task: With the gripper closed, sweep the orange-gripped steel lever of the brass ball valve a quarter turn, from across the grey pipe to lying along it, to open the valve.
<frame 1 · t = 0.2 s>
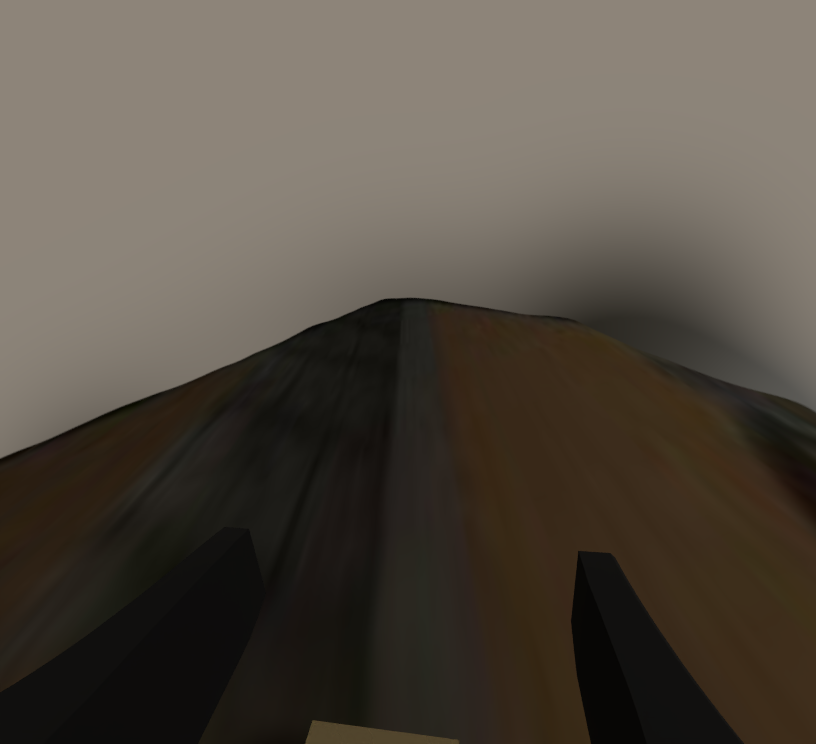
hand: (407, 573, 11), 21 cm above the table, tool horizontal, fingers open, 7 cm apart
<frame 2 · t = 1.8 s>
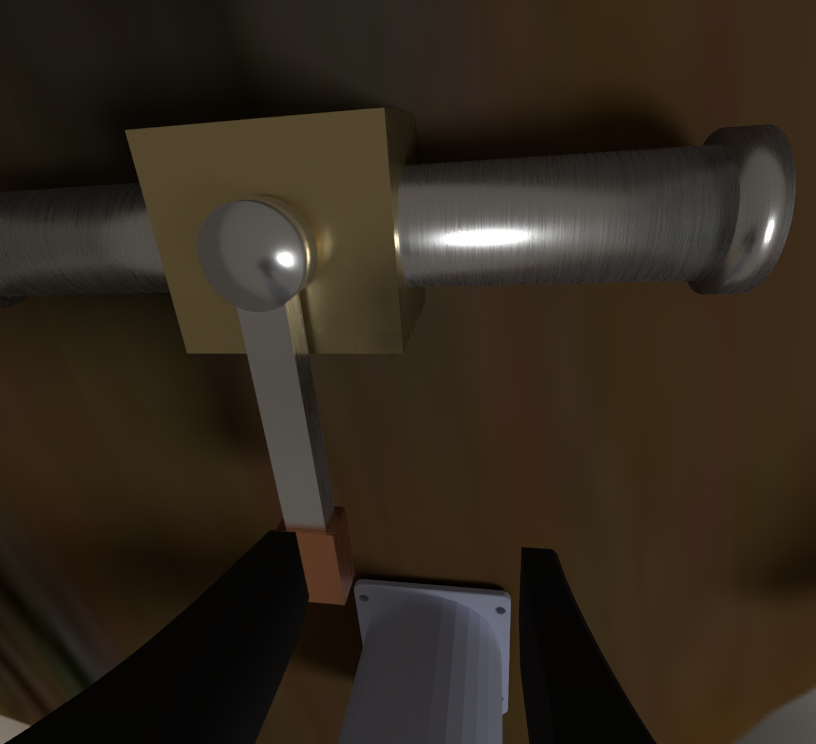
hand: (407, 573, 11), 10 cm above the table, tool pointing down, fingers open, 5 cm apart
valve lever: (293, 428, 15), point 6 cm above the table, hinge at 0.0°
valve pipe: (326, 220, 18), on the table
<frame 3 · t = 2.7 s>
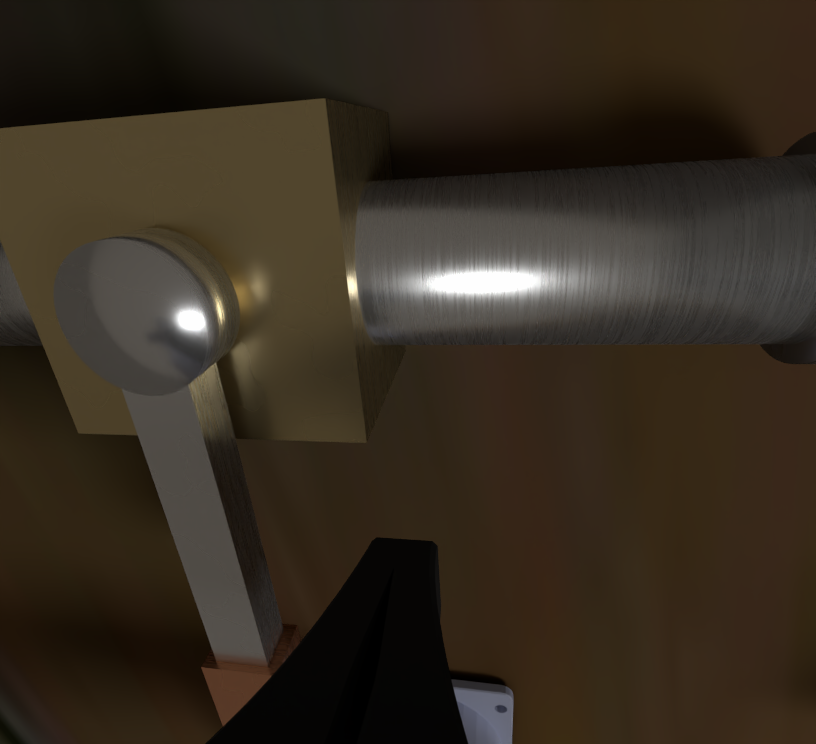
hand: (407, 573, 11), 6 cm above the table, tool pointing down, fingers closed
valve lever: (219, 539, 11), point 6 cm above the table, hinge at 0.0°
valve pipe: (277, 248, 14), on the table
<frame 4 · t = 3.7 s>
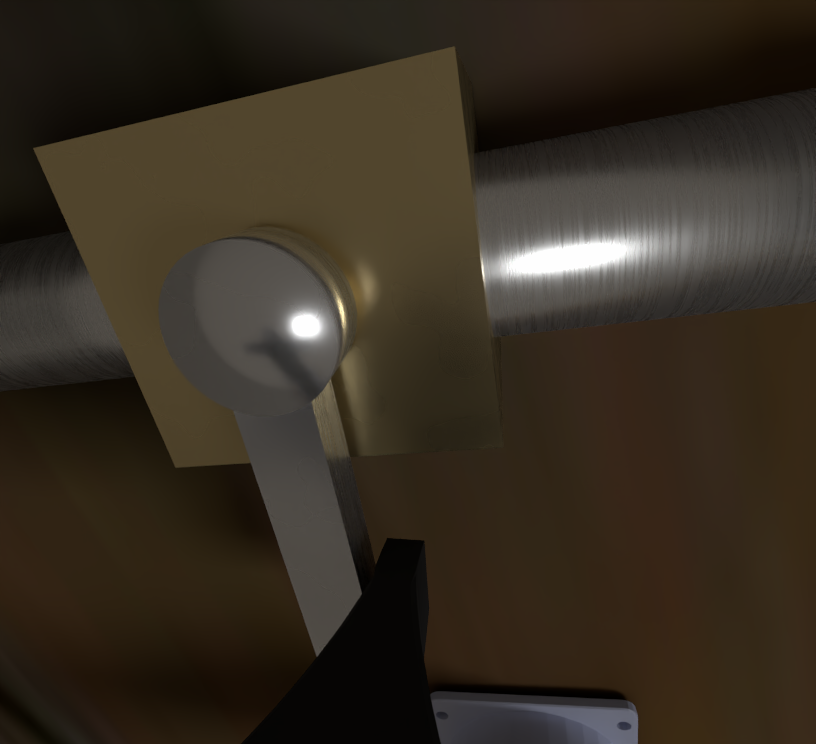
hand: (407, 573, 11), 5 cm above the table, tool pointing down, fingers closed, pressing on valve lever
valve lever: (334, 570, 10), point 6 cm above the table, hinge at 1.6°, touching gripper
valve pipe: (354, 248, 13), on the table
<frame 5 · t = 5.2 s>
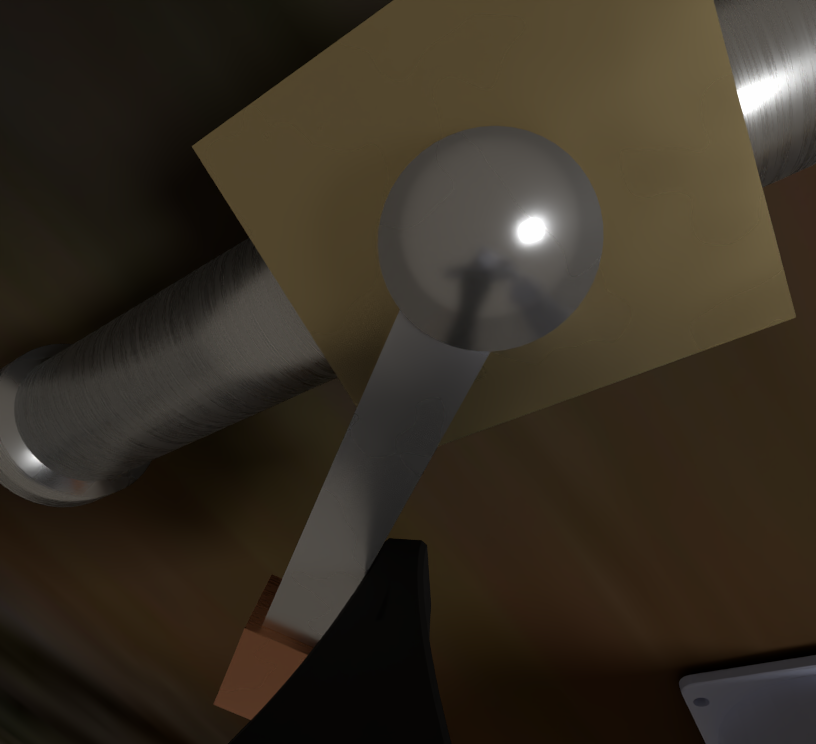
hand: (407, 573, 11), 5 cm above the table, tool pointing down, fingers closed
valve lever: (355, 507, 9), point 6 cm above the table, hinge at 51.4°, touching gripper
valve pipe: (490, 193, 12), on the table
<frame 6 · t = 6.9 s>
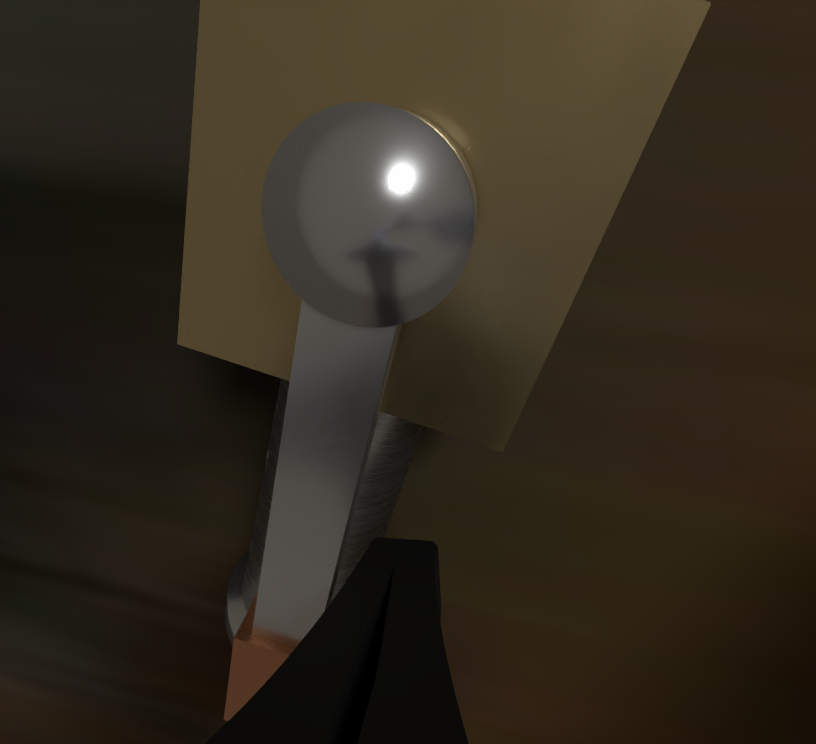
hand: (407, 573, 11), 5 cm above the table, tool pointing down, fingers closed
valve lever: (316, 503, 9), point 6 cm above the table, hinge at 87.9°
valve pipe: (426, 182, 12), on the table
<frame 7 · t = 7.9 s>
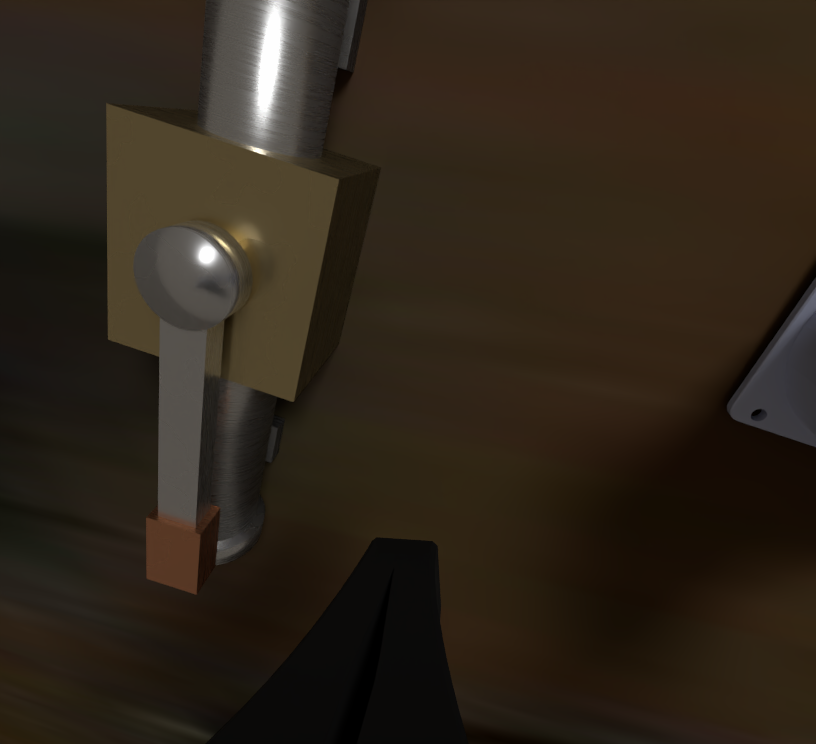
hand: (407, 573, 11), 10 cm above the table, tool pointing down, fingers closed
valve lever: (188, 432, 16), point 6 cm above the table, hinge at 87.9°
valve pipe: (278, 236, 19), on the table
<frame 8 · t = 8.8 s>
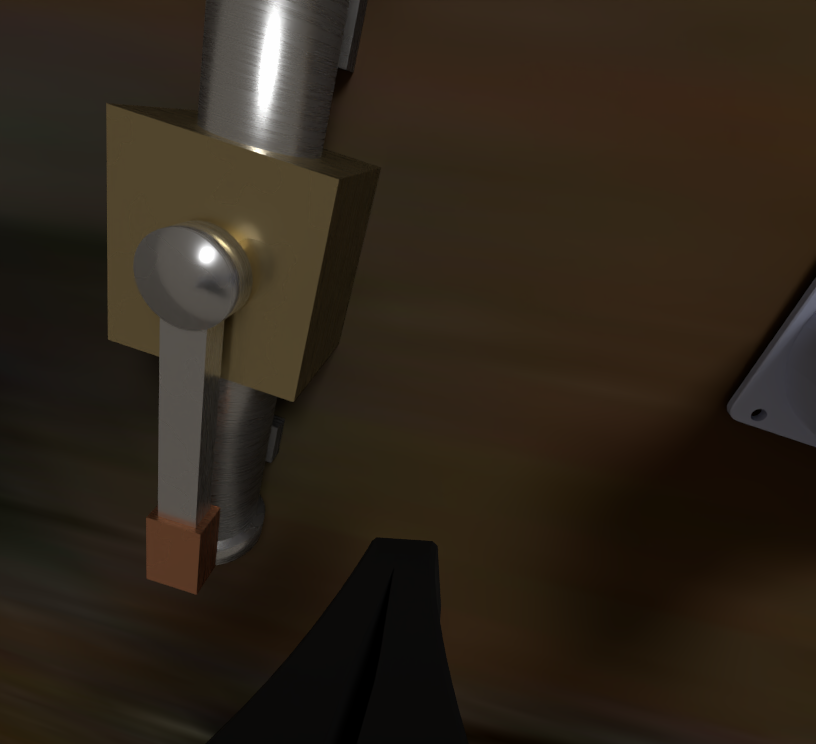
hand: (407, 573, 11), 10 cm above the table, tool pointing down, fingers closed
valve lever: (188, 432, 16), point 6 cm above the table, hinge at 87.9°
valve pipe: (278, 236, 19), on the table
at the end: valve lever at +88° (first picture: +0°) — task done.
